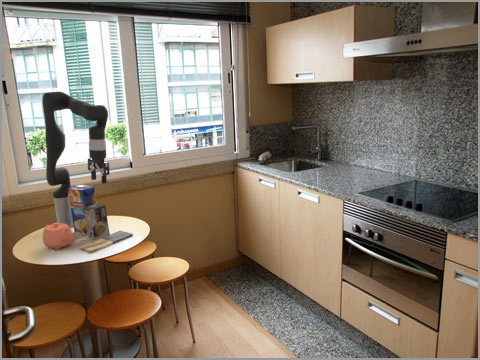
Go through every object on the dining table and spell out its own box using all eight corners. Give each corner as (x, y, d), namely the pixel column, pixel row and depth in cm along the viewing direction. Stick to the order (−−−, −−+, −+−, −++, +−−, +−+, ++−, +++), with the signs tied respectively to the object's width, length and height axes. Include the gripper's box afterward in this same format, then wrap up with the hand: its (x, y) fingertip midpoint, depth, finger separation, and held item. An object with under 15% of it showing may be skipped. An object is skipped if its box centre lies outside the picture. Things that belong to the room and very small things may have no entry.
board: (79, 248, 187) (78, 246, 186) (120, 232, 205) (120, 230, 205) (91, 253, 181) (91, 251, 180) (132, 235, 199) (132, 233, 199)
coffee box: (103, 232, 207) (98, 202, 203) (110, 234, 203) (105, 204, 199) (87, 237, 200) (82, 207, 196) (94, 240, 196) (89, 209, 192)
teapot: (37, 247, 191) (33, 224, 188) (60, 238, 201) (56, 216, 198) (61, 255, 180) (57, 230, 178) (83, 245, 190) (80, 222, 187)
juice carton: (100, 229, 211) (94, 186, 205) (89, 234, 205) (82, 190, 199) (85, 226, 217) (78, 184, 211) (74, 231, 210) (67, 188, 205)
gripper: (81, 146, 185) (83, 179, 189) (99, 151, 177) (100, 185, 181) (96, 145, 191) (97, 177, 195) (113, 149, 183) (114, 183, 187)
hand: (98, 181), depth 188 cm, fingers open, 8 cm apart
